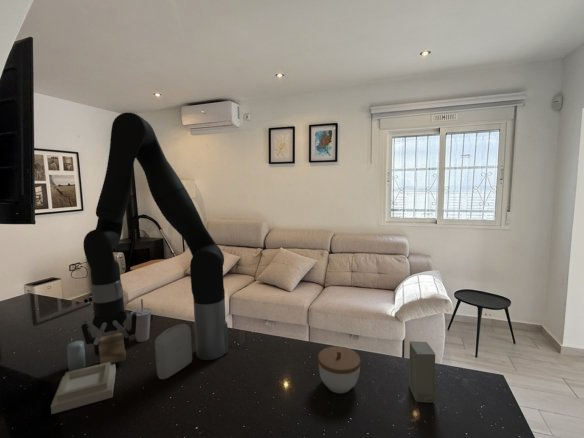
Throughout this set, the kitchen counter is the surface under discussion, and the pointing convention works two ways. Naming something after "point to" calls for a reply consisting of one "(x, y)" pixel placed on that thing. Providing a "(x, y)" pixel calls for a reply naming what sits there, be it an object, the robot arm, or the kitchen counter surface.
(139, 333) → the smoothie
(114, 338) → the oak block
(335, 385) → the lidded jar
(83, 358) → the grey post
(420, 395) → the skincare box
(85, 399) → the cream base
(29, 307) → the kitchen counter surface
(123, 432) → the kitchen counter surface
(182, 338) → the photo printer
